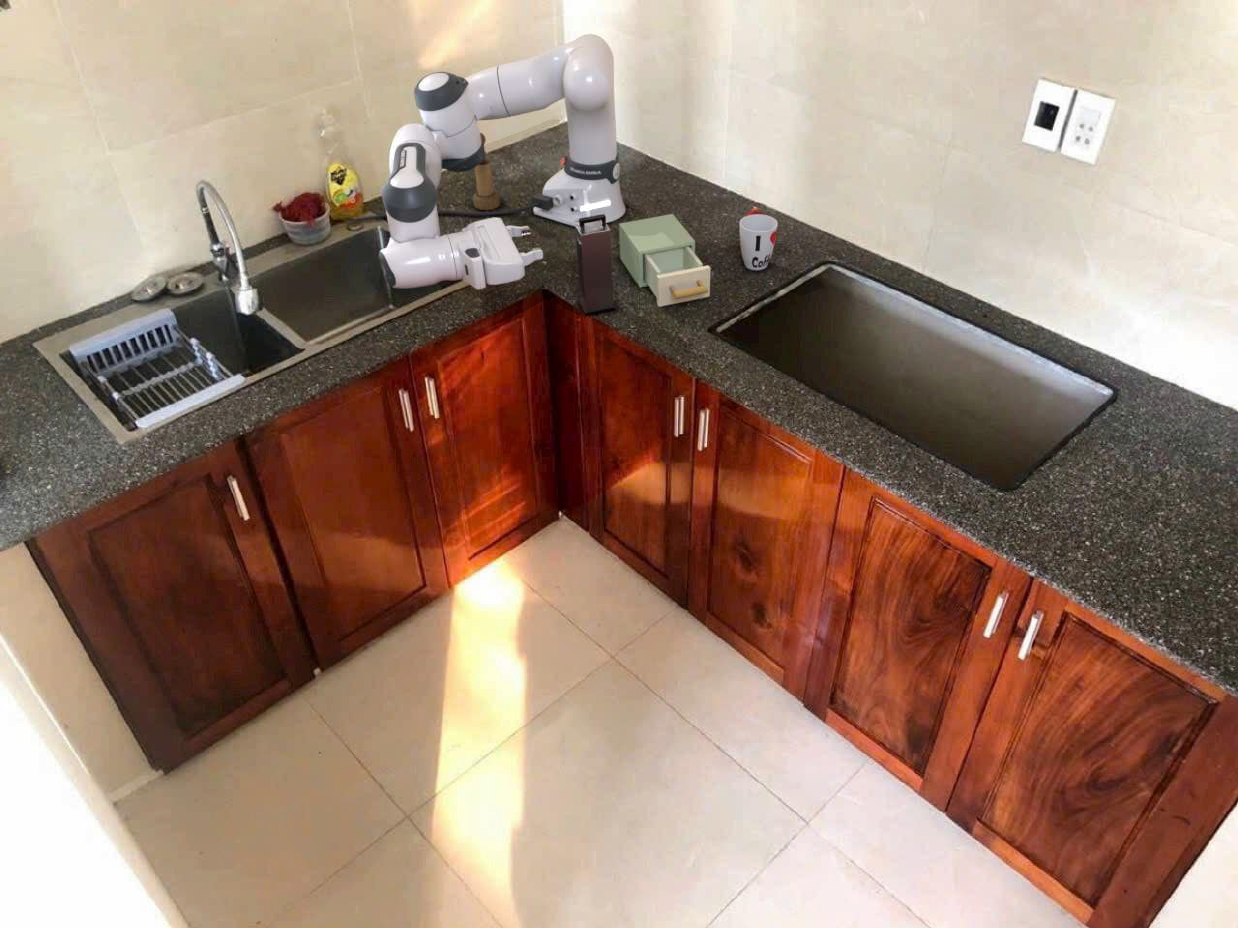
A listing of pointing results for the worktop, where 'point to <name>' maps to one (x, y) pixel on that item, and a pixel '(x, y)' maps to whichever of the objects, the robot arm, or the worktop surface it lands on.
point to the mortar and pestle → (485, 185)
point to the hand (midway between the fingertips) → (536, 241)
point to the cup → (757, 240)
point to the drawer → (676, 275)
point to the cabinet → (650, 241)
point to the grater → (594, 265)
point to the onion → (754, 212)
